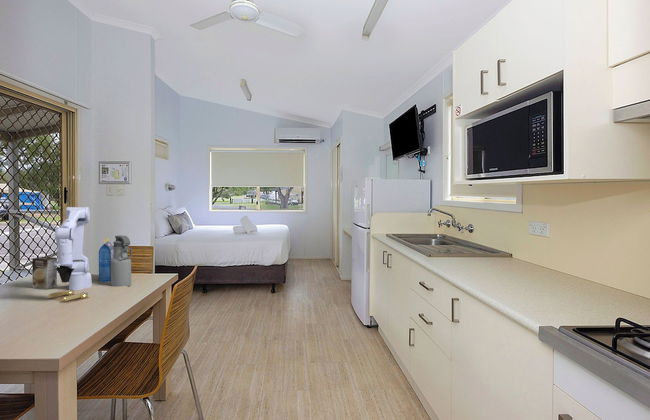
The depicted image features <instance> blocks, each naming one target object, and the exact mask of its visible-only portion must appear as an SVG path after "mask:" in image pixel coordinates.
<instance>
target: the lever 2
mask: <svg viewBox="0 0 650 420" xmlns="http://www.w3.org/2000/svg"><path fill="white" fill-rule="evenodd" d="M87 297H89V293H88V292H79V293H74V295H70V296H65V297H63V298H62V300H63V301H67V300H71V299H75V298H78V299H83V300H85V299H84V298H87ZM87 299H88V298H87Z"/></svg>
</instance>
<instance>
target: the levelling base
mask: <svg viewBox="0 0 650 420" xmlns="http://www.w3.org/2000/svg"><path fill="white" fill-rule="evenodd" d="M63 297H65V296H64V295H61V296H57V297H52V298H50V297H48V298H47V299H48V300H52V301H57V302H60V303H65V304H70V303H74V302H78V301H82V300H86V299H89V298H90V299H91V297H90V296H88V297H87V298H84V299H78V298H75V299H71V300H67V301H63V300H62V298H63Z"/></svg>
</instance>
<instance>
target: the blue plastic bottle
mask: <svg viewBox="0 0 650 420" xmlns="http://www.w3.org/2000/svg"><path fill="white" fill-rule="evenodd" d="M112 259H114V245H113V244H112V243H111V242H109V237H108V236H107V237H106V238H104V244H103V245H102V246H101V247H100V248H99V250H98V281H99V282H103V283H106V282H111V260H112Z"/></svg>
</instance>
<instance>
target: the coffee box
mask: <svg viewBox="0 0 650 420" xmlns="http://www.w3.org/2000/svg"><path fill="white" fill-rule="evenodd" d="M31 261H32V262H31V263H32V264H31V267H32V273H31V274H32V289H39V290H40V289H43V290H49V289H52V288H55V287H57V286H58V285H57V284H58V280H57V279H58V277H57V276H58V275H57V274H58V271H57V270H56V268H58V267H57V266H54V262H55V261H58V258H57V257H53V256H39V257H35V258H34V257H33V258H32V260H31Z"/></svg>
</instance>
